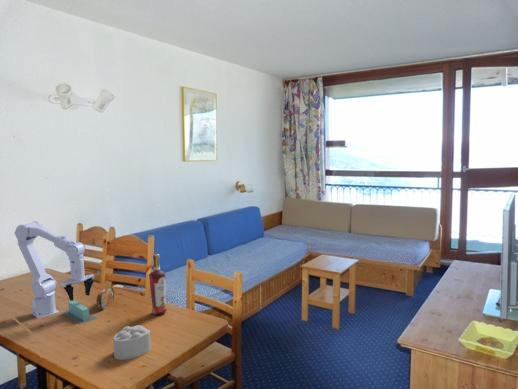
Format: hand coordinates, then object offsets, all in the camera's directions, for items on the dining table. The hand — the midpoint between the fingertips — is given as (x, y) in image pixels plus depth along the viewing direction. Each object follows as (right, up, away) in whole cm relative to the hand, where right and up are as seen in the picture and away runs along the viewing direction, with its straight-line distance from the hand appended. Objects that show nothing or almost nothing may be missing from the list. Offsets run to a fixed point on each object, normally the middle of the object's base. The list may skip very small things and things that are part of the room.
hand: (79, 297), depth 180 cm
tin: (+8, -7, +11) cm, 15 cm away
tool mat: (0, -9, -1) cm, 9 cm away
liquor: (+37, -8, +1) cm, 38 cm away
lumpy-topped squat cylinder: (+35, -12, -33) cm, 50 cm away
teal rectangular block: (0, -8, -1) cm, 8 cm away
